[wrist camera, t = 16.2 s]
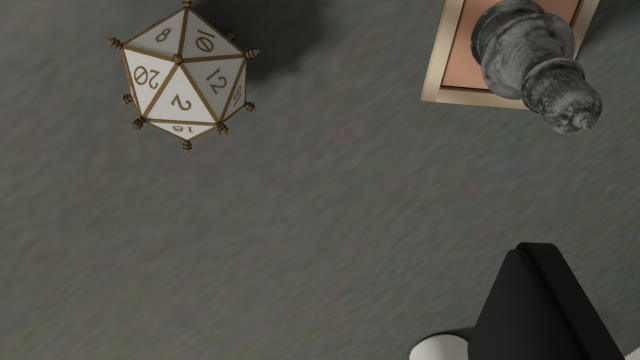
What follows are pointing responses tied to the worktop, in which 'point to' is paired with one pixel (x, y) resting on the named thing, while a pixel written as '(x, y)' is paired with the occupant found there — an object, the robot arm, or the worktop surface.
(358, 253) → the worktop surface
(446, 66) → the game track
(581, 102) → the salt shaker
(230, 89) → the game die
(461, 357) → the can
